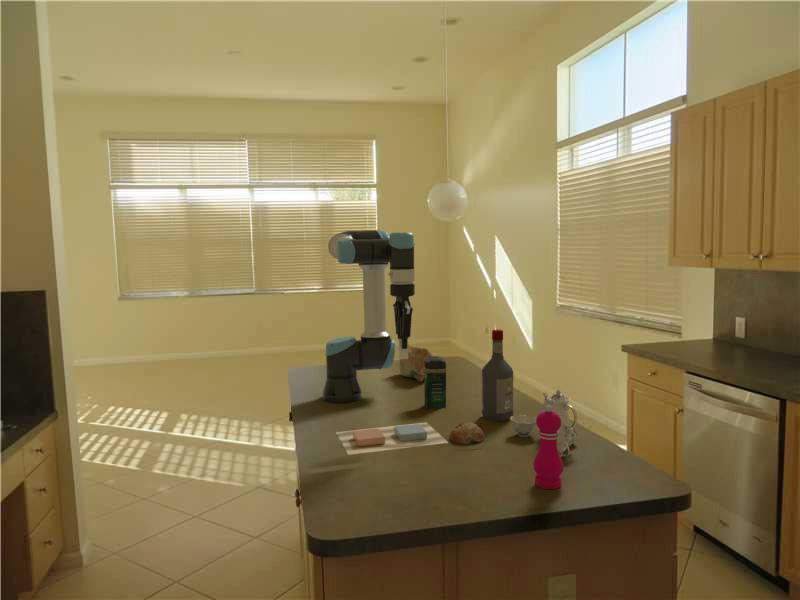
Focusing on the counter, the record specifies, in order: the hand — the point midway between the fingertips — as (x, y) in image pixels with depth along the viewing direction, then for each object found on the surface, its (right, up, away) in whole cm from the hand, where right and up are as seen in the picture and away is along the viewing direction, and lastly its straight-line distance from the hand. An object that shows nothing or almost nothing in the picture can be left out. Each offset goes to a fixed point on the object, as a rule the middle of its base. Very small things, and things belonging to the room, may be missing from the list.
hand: (403, 358), depth 178 cm
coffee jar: (+12, -21, +31) cm, 39 cm away
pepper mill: (+36, -28, -36) cm, 58 cm away
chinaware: (+43, -25, -8) cm, 50 cm away
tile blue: (+1, -22, 0) cm, 22 cm away
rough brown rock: (+9, -17, +75) cm, 78 cm away
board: (-4, -25, -4) cm, 25 cm away
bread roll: (+19, -25, -6) cm, 32 cm away
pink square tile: (-11, -22, -3) cm, 25 cm away
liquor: (+32, -22, +18) cm, 43 cm away
